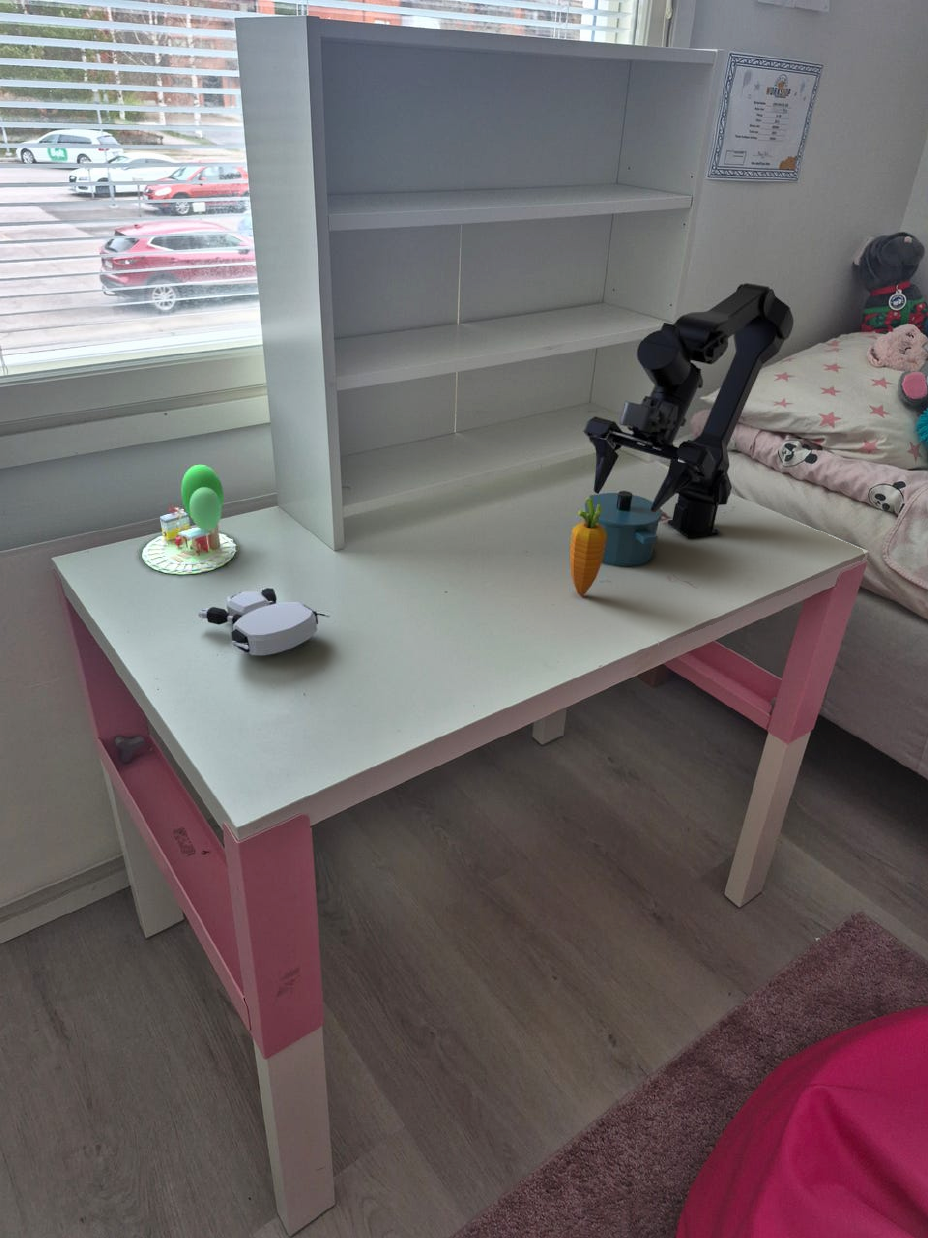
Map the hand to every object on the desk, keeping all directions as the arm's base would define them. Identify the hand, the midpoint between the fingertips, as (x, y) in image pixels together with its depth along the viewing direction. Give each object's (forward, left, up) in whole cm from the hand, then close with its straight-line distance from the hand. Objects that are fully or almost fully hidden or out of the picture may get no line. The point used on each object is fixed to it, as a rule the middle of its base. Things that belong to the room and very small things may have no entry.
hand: (623, 501), depth 123 cm
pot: (-7, -11, -14) cm, 19 cm away
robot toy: (+52, -3, -14) cm, 54 cm away
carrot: (+6, +1, -14) cm, 15 cm away
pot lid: (-7, -11, -7) cm, 15 cm away
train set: (+58, -30, -14) cm, 66 cm away
